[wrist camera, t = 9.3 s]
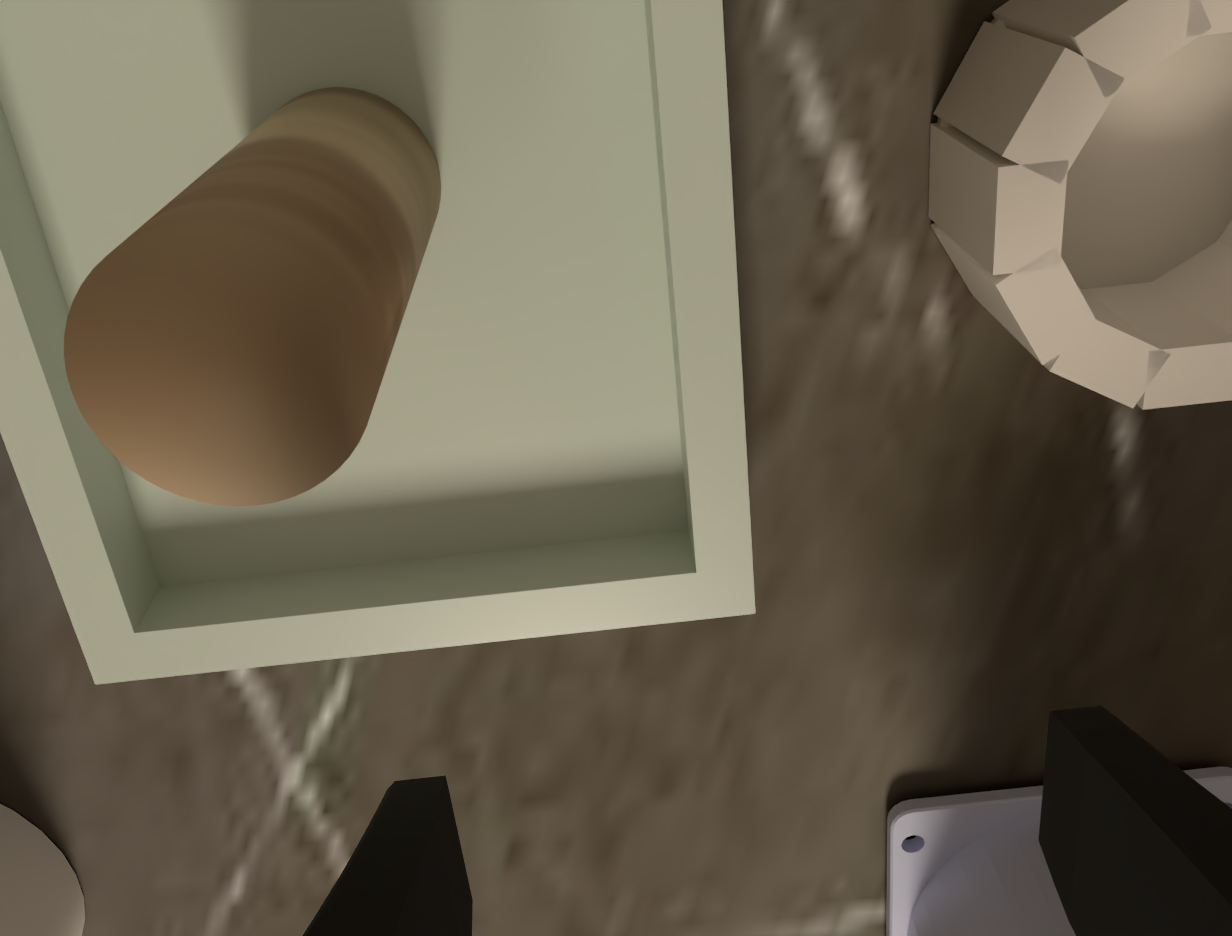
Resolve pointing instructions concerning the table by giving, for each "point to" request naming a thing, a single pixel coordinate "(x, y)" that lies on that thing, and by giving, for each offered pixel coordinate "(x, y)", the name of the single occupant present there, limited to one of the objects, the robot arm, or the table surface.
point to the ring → (1097, 190)
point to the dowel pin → (259, 305)
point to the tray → (403, 328)
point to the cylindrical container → (36, 883)
